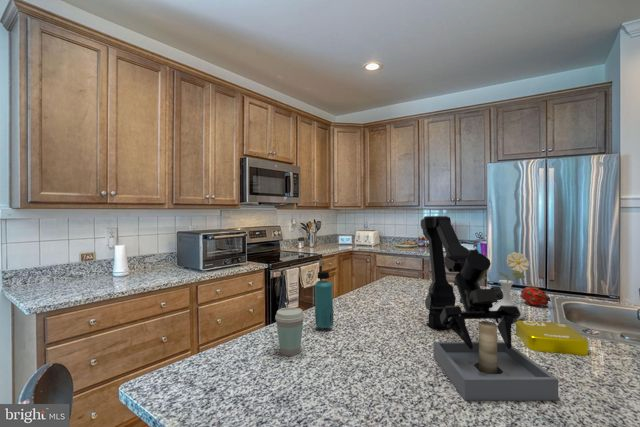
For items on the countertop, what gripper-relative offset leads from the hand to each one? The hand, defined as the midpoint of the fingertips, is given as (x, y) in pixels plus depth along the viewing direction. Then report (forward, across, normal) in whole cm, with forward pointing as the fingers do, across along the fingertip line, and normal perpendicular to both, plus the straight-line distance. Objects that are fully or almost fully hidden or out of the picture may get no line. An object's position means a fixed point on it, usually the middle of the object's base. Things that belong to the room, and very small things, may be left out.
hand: (490, 348), depth 78 cm
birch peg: (+4, 0, +6) cm, 8 cm away
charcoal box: (+4, 0, +6) cm, 8 cm away
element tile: (-9, +28, +21) cm, 36 cm away
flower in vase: (-25, +29, +36) cm, 53 cm away
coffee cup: (-6, -50, +17) cm, 54 cm away
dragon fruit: (-37, +49, +48) cm, 78 cm away
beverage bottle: (-19, -40, +30) cm, 54 cm away
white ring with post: (-40, -11, +51) cm, 66 cm away
